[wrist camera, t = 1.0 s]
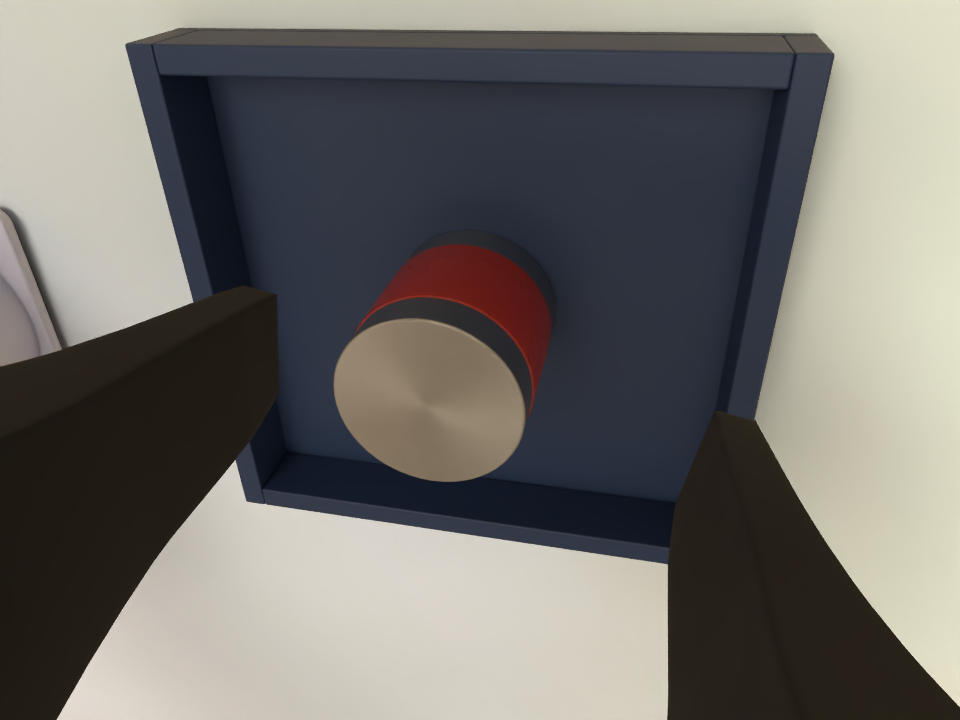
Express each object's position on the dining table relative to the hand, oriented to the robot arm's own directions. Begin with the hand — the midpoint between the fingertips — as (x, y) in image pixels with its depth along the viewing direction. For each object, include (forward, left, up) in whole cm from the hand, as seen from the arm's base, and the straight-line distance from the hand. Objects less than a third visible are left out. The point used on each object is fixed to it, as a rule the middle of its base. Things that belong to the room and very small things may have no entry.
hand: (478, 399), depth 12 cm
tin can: (-2, -3, -9) cm, 9 cm away
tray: (-2, -3, -9) cm, 10 cm away
